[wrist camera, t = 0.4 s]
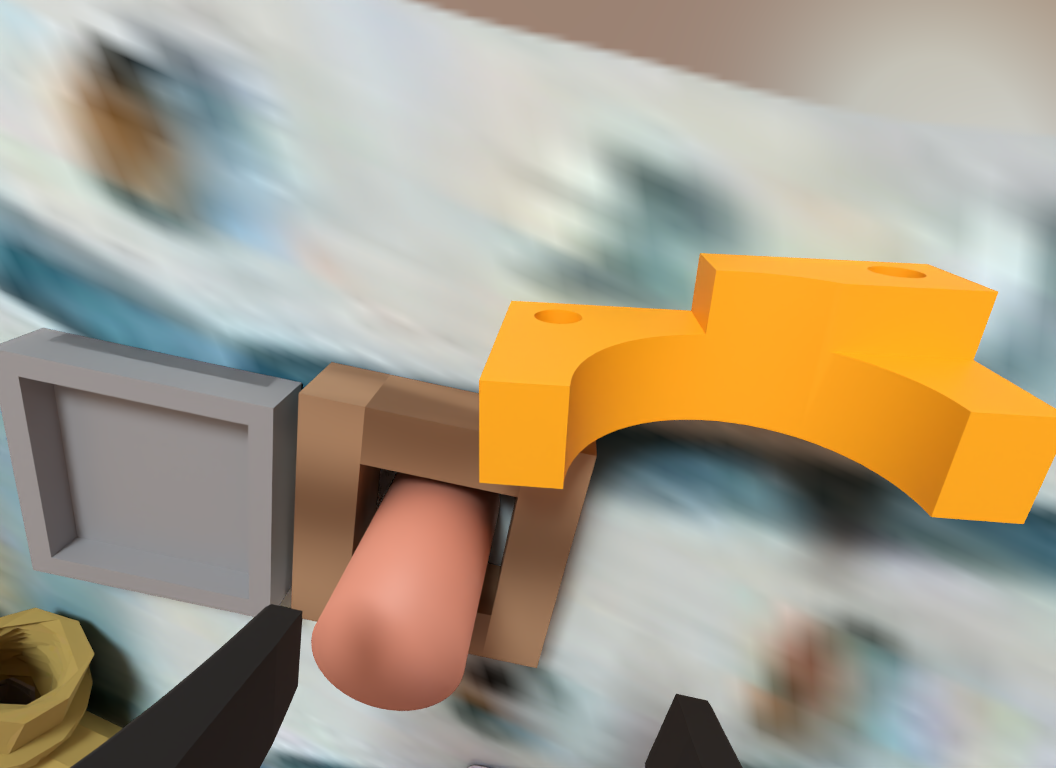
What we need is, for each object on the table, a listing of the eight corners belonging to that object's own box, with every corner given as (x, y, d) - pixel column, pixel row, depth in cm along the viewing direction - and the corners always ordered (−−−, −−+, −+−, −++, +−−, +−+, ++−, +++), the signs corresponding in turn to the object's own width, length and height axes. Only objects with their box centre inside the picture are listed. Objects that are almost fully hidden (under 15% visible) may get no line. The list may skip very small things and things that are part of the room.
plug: (489, 552, 22) (453, 723, 16) (387, 530, 22) (308, 692, 16) (508, 464, 21) (476, 615, 14) (397, 440, 21) (315, 580, 14)
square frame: (540, 615, 23) (536, 667, 21) (319, 568, 23) (290, 616, 21) (594, 418, 20) (596, 456, 17) (331, 362, 19) (298, 393, 17)
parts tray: (294, 581, 24) (270, 619, 22) (75, 535, 24) (33, 569, 22) (301, 382, 20) (273, 408, 18) (42, 327, 20) (-12, 347, 18)
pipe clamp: (925, 263, 17) (1110, 335, 11) (883, 398, 19) (1023, 523, 13) (513, 243, 18) (478, 300, 12) (510, 375, 19) (479, 482, 13)
